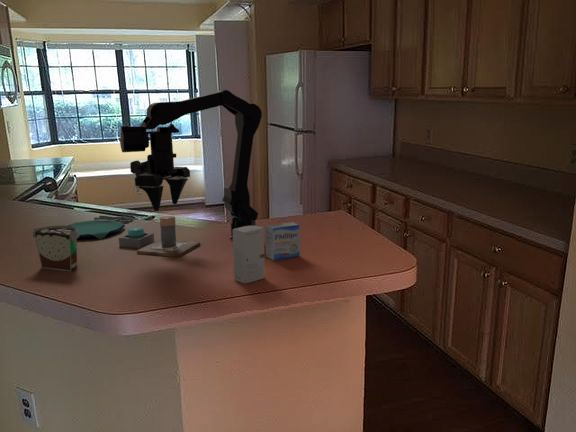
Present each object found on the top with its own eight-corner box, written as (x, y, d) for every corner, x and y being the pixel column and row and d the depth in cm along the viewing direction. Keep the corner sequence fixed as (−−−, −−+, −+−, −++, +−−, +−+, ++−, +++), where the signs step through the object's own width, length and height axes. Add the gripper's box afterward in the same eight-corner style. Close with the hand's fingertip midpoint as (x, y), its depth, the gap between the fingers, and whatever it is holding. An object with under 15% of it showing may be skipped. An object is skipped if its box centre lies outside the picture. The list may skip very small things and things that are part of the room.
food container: (93, 264, 126) (89, 226, 124) (76, 272, 121) (71, 232, 118) (55, 260, 130) (50, 223, 128) (36, 267, 125) (31, 229, 122)
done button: (147, 235, 145) (146, 228, 144) (138, 239, 141) (137, 231, 140) (134, 234, 146) (133, 227, 146) (125, 238, 142) (124, 230, 142)
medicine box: (273, 261, 126) (272, 228, 124) (265, 256, 130) (265, 224, 128) (300, 256, 130) (299, 224, 128) (292, 252, 134) (291, 221, 132)
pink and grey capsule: (179, 244, 140) (178, 216, 138) (171, 248, 136) (170, 220, 134) (166, 242, 141) (164, 215, 139) (158, 246, 137) (156, 218, 135)
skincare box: (245, 284, 110) (243, 232, 108) (233, 279, 114) (231, 228, 111) (266, 277, 114) (264, 227, 112) (253, 273, 118) (252, 224, 115)
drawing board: (200, 244, 142) (200, 241, 142) (178, 257, 131) (178, 253, 131) (161, 241, 146) (160, 238, 146) (136, 253, 135) (136, 249, 135)
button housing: (154, 241, 146) (153, 233, 146) (140, 248, 140) (139, 239, 139) (134, 240, 148) (133, 231, 148) (119, 246, 142) (118, 237, 141)
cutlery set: (43, 240, 150) (42, 232, 150) (96, 219, 179) (95, 212, 179) (104, 242, 147) (103, 235, 147) (147, 220, 176) (147, 214, 176)
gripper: (155, 147, 143) (159, 199, 147) (114, 153, 126) (119, 212, 130) (189, 147, 140) (192, 201, 143) (152, 154, 123) (156, 215, 126)
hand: (165, 207), depth 136 cm, fingers open, 9 cm apart
